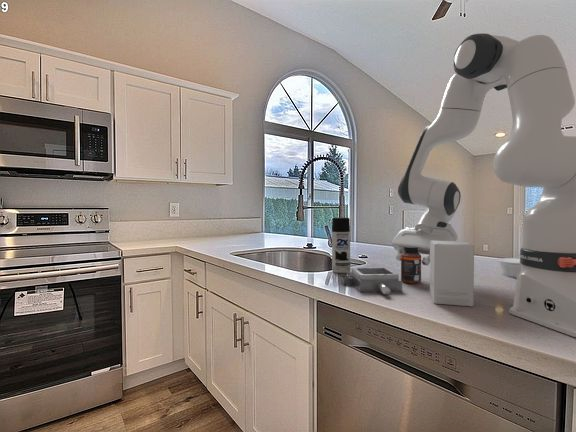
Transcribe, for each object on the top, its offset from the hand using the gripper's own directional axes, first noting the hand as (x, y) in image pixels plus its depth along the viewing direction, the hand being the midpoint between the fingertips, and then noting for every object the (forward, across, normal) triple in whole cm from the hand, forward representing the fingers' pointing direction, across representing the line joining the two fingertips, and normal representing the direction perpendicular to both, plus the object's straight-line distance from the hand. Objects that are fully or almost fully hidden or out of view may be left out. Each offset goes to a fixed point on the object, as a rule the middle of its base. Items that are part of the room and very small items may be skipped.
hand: (410, 261), depth 102 cm
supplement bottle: (+5, 0, +5) cm, 7 cm away
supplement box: (+11, +18, -2) cm, 21 cm away
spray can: (+10, -24, 0) cm, 26 cm away
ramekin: (-22, +15, +31) cm, 41 cm away
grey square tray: (+16, -2, -7) cm, 17 cm away
